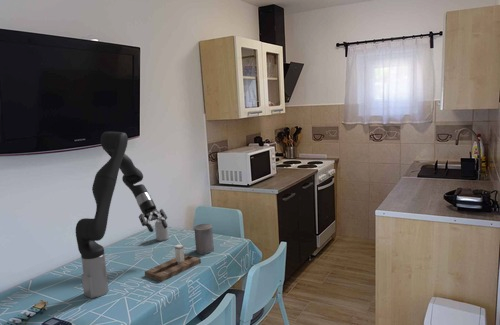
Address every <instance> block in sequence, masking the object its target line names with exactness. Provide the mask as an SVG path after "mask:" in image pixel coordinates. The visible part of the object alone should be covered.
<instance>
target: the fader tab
mask: <svg viewBox="0 0 500 325" xmlns="http://www.w3.org/2000/svg"><path fill="white" fill-rule="evenodd" d="M184 249H185V248H184V245H182V244H176V245H174V252H175V258H176V261H177V262H178V264H180V263H182V262H183V261H185V260H184V254H185V250H184Z"/></svg>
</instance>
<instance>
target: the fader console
mask: <svg viewBox="0 0 500 325" xmlns="http://www.w3.org/2000/svg"><path fill="white" fill-rule="evenodd" d="M184 260H185V261H183V262H182V263H180V264H178V262H177V261H176V257H174V258H171V259H170V260H167V261H165V262H163V263H161V264H158V265H156V266H154V267H151V268H150V269H147V270H144V276H145V277H146V278H149V279H152V280H155V281H158V282H161V283H162V282H164V281H166V280H168V279H169V280H170V278H173V277H174V276H177V275H179V274H181V273H183V272H185V271H187V270H189V269H191V268H193V267H195V266H197V265H199V264H201V262H202V260H201V258H199V257H195V256H194V255H190V254H186V253H184Z"/></svg>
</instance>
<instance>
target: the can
mask: <svg viewBox="0 0 500 325" xmlns="http://www.w3.org/2000/svg"><path fill="white" fill-rule="evenodd" d="M165 221H166V223H167V228H165V229H164V227H163V225H162V222H160V221H158V220H155V222H154V228H155V238H156V240H157V241H159V242H163V241H167V240H168V239H169V238H170V234H169V222H168V220H167V219H166V220H165Z"/></svg>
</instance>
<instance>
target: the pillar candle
mask: <svg viewBox="0 0 500 325" xmlns="http://www.w3.org/2000/svg"><path fill="white" fill-rule="evenodd" d="M212 225H213V224H210V223H201V224H197V225H195V226H194V227H193V228H194V241H195V252H196V253H197V254H200V255H204V254H205V255H206V254H209V253H212V252H213V251H215V245H214V234H213V226H212Z"/></svg>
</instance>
